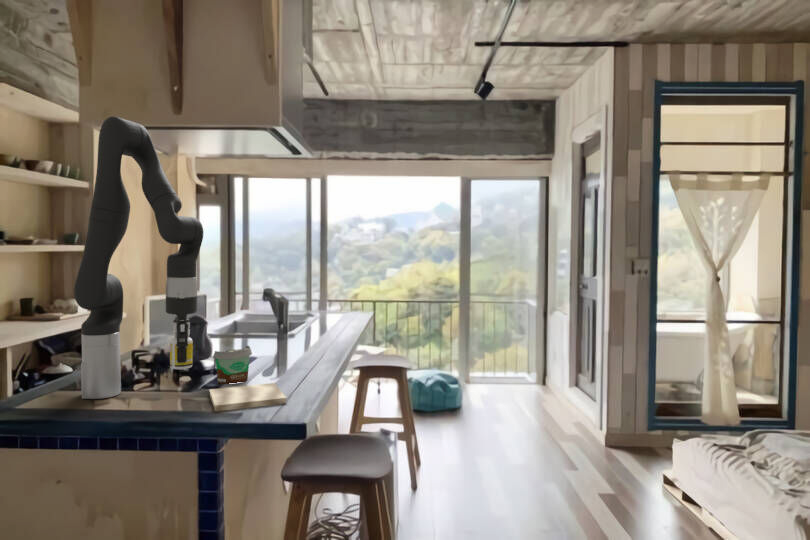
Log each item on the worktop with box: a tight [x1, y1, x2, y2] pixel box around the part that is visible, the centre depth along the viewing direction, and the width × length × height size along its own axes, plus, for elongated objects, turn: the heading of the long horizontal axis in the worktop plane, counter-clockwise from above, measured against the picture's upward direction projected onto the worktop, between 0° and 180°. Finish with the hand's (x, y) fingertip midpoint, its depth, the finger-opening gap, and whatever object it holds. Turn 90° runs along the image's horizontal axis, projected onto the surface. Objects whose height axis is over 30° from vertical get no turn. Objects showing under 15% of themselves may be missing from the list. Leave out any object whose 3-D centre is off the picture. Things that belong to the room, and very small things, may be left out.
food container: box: [213, 344, 253, 385], centre depth 168 cm, size 12×6×10 cm, turn 143°
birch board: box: [208, 382, 288, 412], centre depth 151 cm, size 18×16×2 cm
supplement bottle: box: [169, 328, 194, 370], centre depth 144 cm, size 5×5×10 cm
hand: (181, 359), depth 144 cm, fingers closed on supplement bottle, 5 cm apart
